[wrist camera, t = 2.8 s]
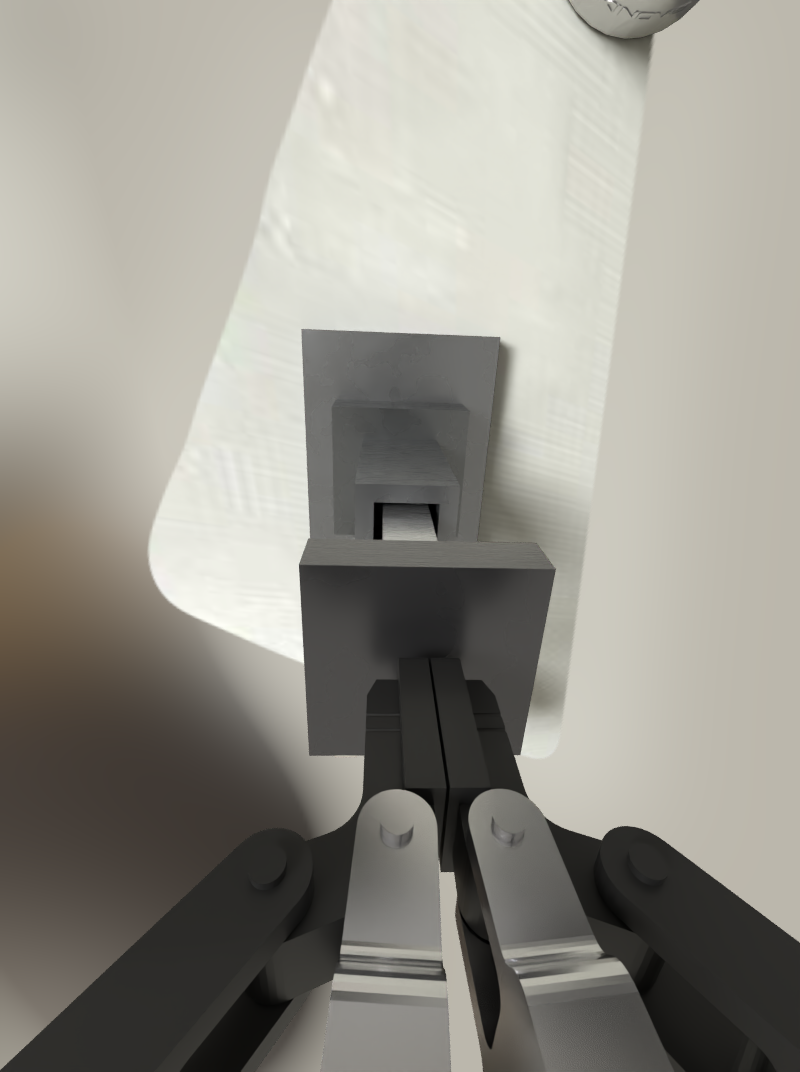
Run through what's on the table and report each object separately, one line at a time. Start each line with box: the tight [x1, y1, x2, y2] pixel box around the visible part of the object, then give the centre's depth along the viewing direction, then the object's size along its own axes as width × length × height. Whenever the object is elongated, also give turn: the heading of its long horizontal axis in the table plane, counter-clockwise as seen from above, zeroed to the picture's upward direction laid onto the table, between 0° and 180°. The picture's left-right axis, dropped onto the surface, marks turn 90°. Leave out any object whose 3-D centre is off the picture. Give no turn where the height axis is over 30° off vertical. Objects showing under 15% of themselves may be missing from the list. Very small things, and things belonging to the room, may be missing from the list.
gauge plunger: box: [299, 503, 556, 756], centre depth 18 cm, size 10×6×12 cm, turn 178°
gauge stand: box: [301, 329, 500, 757], centre depth 26 cm, size 19×12×16 cm, turn 178°
